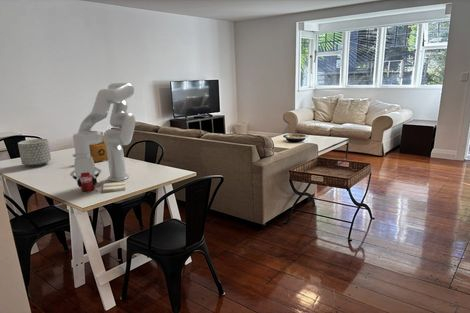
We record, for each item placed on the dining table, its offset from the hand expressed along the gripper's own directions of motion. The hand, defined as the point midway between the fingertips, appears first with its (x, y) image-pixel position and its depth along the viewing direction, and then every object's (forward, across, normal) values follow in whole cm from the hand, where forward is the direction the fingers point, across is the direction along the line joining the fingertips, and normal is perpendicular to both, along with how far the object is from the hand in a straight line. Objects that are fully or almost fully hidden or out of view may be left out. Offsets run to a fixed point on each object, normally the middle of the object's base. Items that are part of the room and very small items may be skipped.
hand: (87, 185), depth 186 cm
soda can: (+4, 0, 0) cm, 4 cm away
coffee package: (+4, +2, +71) cm, 71 cm away
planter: (+4, -42, +77) cm, 88 cm away
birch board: (+3, +14, 0) cm, 14 cm away
